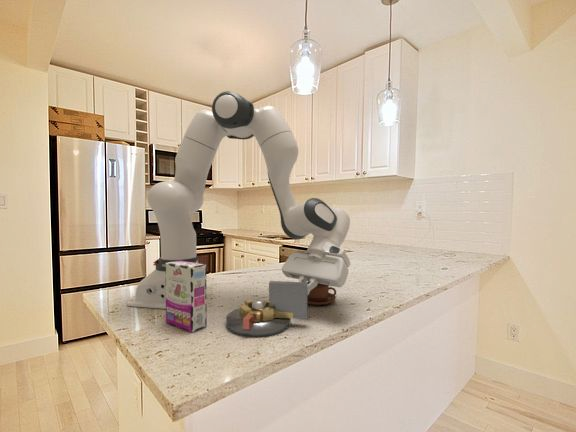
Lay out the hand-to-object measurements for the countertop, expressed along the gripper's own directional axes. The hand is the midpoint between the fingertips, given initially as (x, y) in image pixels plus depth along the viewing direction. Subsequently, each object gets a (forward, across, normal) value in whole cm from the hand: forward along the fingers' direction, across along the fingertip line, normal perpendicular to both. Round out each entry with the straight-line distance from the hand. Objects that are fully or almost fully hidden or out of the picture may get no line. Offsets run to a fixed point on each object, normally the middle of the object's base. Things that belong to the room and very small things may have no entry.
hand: (302, 293), depth 82 cm
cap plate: (+12, -7, -2) cm, 14 cm away
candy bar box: (+21, -21, -11) cm, 32 cm away
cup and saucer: (-6, -5, +16) cm, 18 cm away
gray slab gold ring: (+9, -4, -2) cm, 10 cm away
